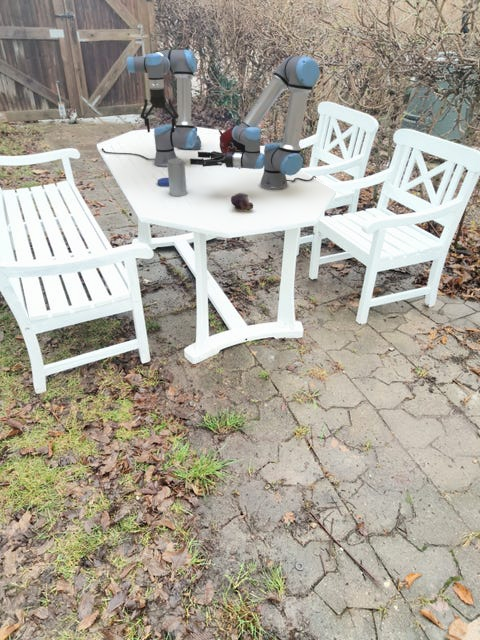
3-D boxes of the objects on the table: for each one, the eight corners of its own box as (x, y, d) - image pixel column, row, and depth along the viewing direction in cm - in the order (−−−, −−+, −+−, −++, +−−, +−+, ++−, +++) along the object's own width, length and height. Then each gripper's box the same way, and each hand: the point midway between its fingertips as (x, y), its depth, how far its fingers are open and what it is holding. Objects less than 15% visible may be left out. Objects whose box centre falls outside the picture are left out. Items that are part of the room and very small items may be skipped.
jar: (174, 197, 241) (171, 163, 231) (167, 192, 247) (164, 159, 237) (189, 194, 245) (187, 161, 235) (182, 189, 251) (179, 157, 241)
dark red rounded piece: (216, 132, 305) (216, 129, 282) (250, 124, 304) (252, 121, 281) (223, 164, 312) (223, 164, 288) (256, 157, 311) (259, 156, 288)
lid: (175, 186, 257) (174, 182, 256) (157, 186, 256) (157, 183, 254) (174, 180, 265) (174, 177, 264) (157, 181, 264) (157, 178, 262)
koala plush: (201, 150, 322) (199, 120, 311) (176, 150, 321) (173, 121, 310) (201, 144, 336) (199, 116, 325) (177, 144, 335) (174, 116, 324)
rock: (244, 206, 231) (227, 209, 227) (243, 189, 228) (226, 192, 224) (256, 210, 222) (238, 213, 218) (255, 192, 218) (237, 195, 214)
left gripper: (131, 89, 229) (137, 133, 241) (179, 89, 229) (183, 133, 241) (134, 87, 236) (140, 130, 248) (181, 87, 235) (184, 130, 247)
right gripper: (228, 174, 221) (187, 172, 225) (239, 160, 242) (201, 158, 245) (228, 158, 217) (186, 156, 221) (239, 146, 237) (200, 144, 241)
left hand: (161, 132), depth 244 cm, fingers open, 13 cm apart
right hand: (194, 157), depth 233 cm, fingers open, 13 cm apart
